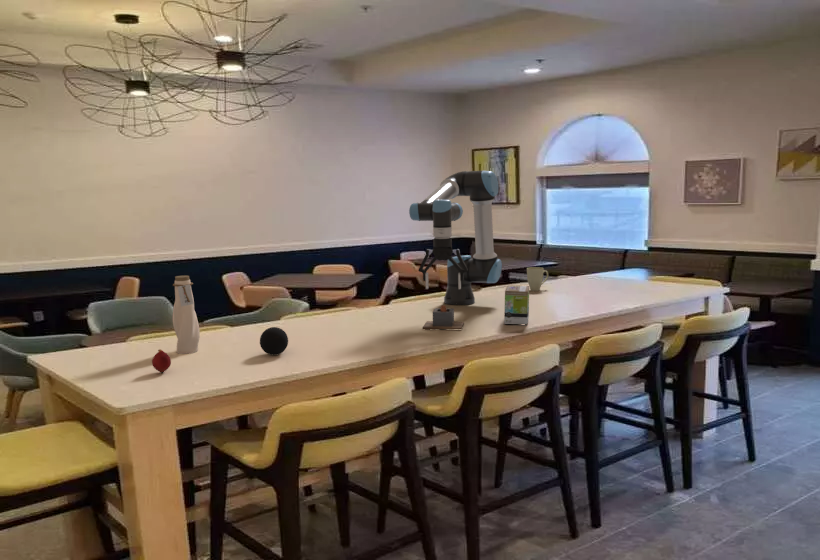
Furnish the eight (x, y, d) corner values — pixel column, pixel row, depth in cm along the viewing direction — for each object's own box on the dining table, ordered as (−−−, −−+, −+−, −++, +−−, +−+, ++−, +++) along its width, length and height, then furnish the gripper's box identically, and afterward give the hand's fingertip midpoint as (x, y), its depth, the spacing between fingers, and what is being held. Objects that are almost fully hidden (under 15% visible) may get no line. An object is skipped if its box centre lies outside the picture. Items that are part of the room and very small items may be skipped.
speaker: (276, 359, 237) (274, 331, 235) (254, 356, 242) (253, 329, 240) (294, 352, 246) (293, 325, 244) (273, 349, 250) (271, 323, 249)
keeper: (426, 323, 290) (426, 302, 289) (464, 324, 287) (463, 302, 286) (422, 329, 278) (422, 307, 277) (461, 330, 276) (461, 308, 274)
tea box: (528, 325, 282) (528, 290, 280) (503, 325, 284) (503, 290, 282) (529, 318, 296) (529, 285, 294) (506, 317, 298) (506, 284, 296)
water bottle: (206, 351, 250) (201, 276, 246) (183, 356, 244) (177, 279, 240) (193, 346, 257) (188, 274, 253) (170, 351, 251) (165, 276, 247)
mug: (541, 292, 360) (541, 269, 358) (524, 290, 365) (524, 268, 364) (548, 289, 369) (549, 267, 368) (531, 287, 375) (531, 266, 373)
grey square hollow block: (435, 322, 287) (435, 308, 286) (454, 322, 286) (453, 308, 285) (432, 326, 280) (432, 312, 279) (452, 326, 278) (451, 312, 277)
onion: (166, 369, 228) (164, 346, 226) (175, 372, 224) (173, 348, 223) (149, 373, 223) (147, 349, 222) (158, 376, 219) (156, 352, 218)
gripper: (410, 238, 276) (412, 290, 279) (472, 238, 271) (472, 290, 275) (414, 236, 283) (415, 286, 286) (473, 236, 278) (474, 287, 282)
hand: (443, 288), depth 281 cm, fingers open, 13 cm apart
